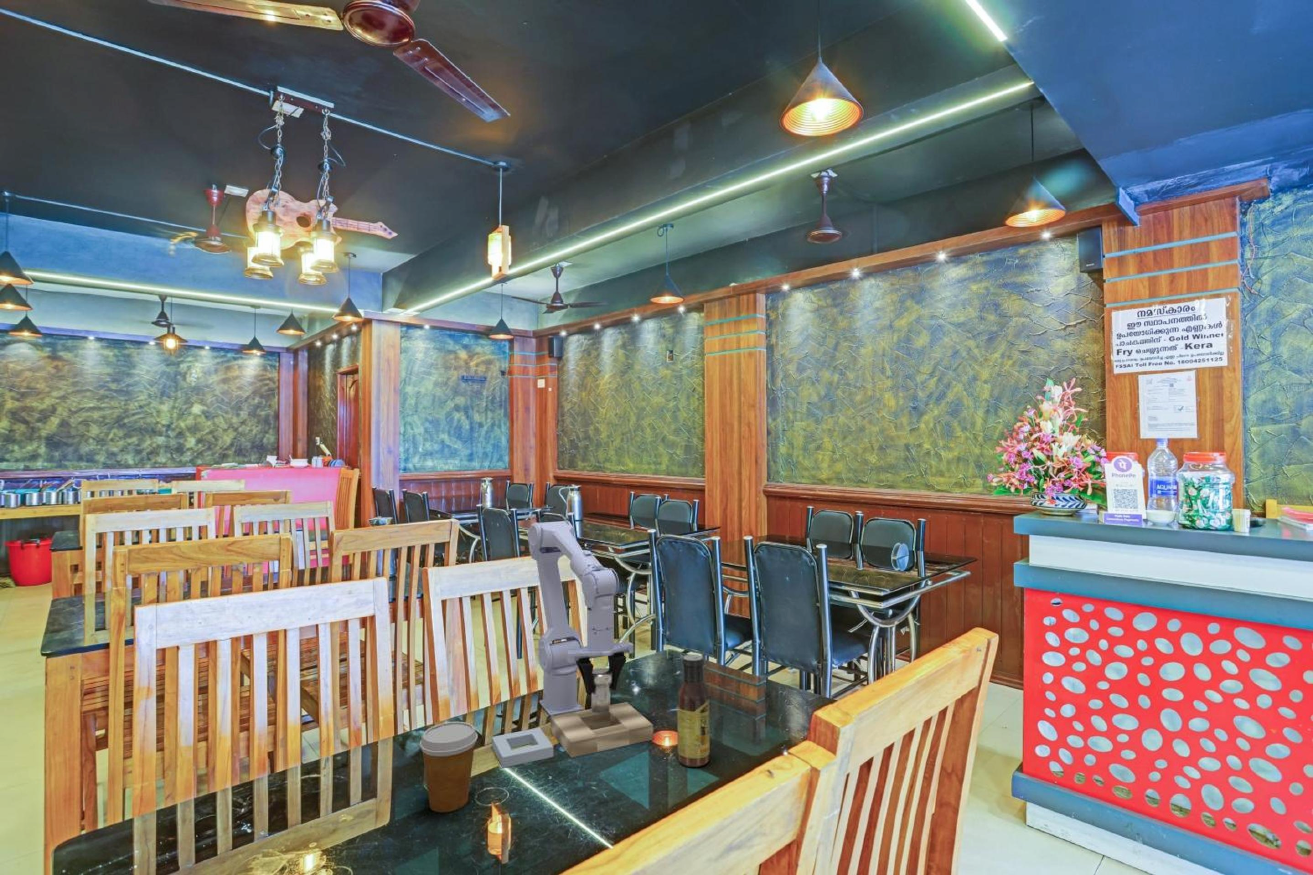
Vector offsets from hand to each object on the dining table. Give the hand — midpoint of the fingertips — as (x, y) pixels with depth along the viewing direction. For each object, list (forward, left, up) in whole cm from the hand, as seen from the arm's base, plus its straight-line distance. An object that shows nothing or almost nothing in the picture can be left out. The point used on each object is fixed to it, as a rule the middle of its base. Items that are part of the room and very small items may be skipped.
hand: (600, 690), depth 136 cm
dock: (0, 0, -9) cm, 9 cm away
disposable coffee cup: (+13, -33, -10) cm, 37 cm away
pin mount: (0, -17, -9) cm, 19 cm away
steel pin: (0, 0, -4) cm, 4 cm away
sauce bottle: (+19, +12, -10) cm, 24 cm away
